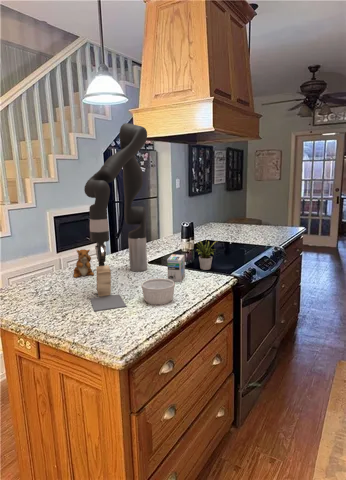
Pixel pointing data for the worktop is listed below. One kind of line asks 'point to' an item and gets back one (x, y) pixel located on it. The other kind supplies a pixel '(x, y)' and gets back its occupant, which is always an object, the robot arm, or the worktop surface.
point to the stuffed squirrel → (83, 264)
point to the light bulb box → (176, 267)
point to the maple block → (103, 280)
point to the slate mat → (107, 302)
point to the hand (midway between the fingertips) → (101, 270)
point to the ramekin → (158, 290)
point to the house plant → (205, 255)
